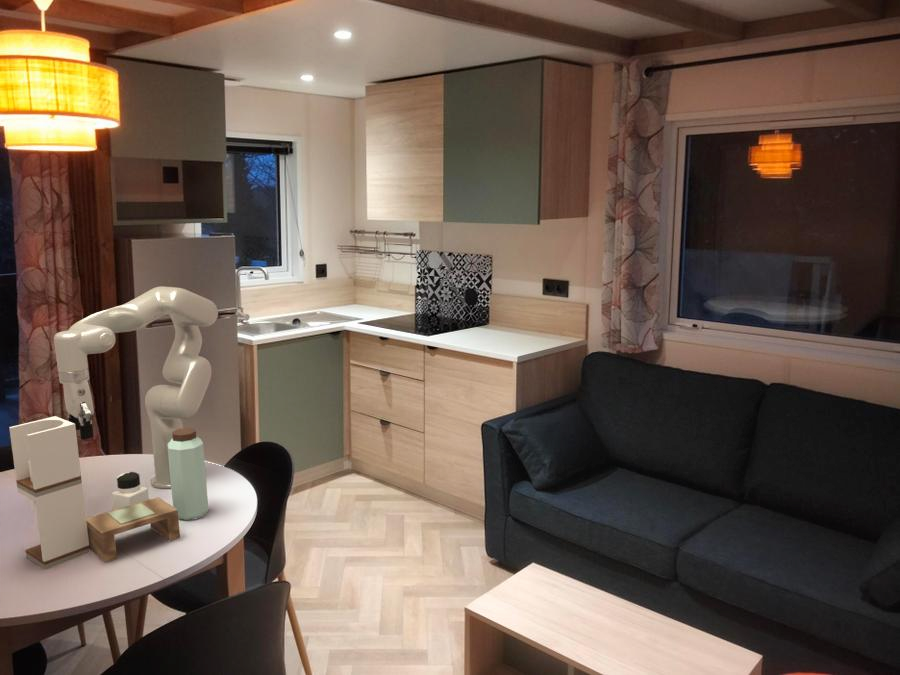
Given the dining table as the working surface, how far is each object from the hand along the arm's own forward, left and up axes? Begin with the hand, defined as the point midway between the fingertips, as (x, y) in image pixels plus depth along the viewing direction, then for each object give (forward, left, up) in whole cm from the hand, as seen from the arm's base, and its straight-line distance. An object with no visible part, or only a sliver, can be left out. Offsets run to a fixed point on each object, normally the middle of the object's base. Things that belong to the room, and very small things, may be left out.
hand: (81, 434), depth 224 cm
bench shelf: (-2, +25, -25) cm, 35 cm away
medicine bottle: (-9, +6, -25) cm, 28 cm away
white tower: (+15, +18, -25) cm, 34 cm away
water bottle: (-21, +19, -25) cm, 38 cm away
